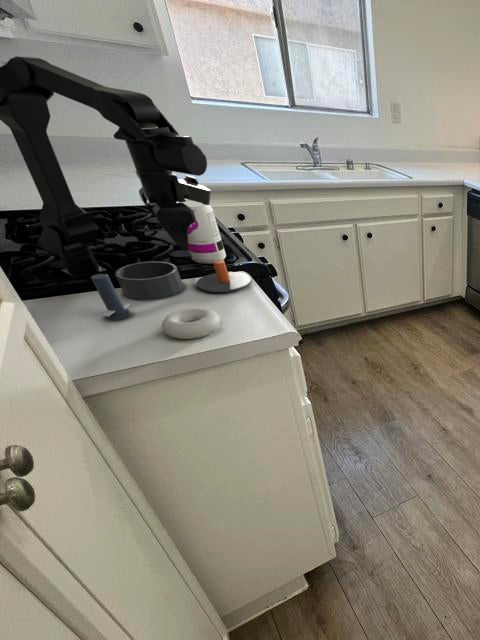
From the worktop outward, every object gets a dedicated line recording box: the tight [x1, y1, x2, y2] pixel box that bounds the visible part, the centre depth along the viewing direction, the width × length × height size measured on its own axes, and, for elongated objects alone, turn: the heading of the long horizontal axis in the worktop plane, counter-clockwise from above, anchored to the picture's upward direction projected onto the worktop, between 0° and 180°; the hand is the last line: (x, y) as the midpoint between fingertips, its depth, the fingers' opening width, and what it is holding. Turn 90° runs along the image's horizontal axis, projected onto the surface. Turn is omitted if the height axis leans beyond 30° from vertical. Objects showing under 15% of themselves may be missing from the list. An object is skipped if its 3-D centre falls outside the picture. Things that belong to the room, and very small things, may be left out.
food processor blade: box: [90, 273, 131, 321], centre depth 85 cm, size 7×4×9 cm, turn 6°
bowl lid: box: [196, 260, 253, 293], centre depth 103 cm, size 12×12×6 cm
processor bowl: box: [114, 260, 185, 301], centre depth 97 cm, size 11×11×5 cm
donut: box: [161, 307, 221, 340], centre depth 86 cm, size 10×4×10 cm
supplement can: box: [178, 199, 227, 265], centre depth 111 cm, size 8×8×15 cm
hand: (180, 243), depth 93 cm, fingers open, 9 cm apart
